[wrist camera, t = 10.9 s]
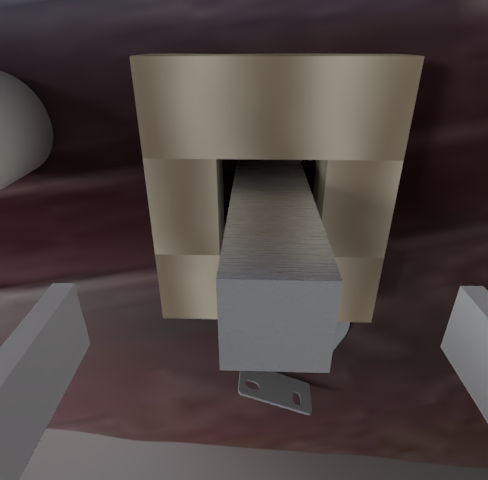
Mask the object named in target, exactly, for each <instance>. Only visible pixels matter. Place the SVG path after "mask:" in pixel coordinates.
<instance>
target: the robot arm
mask: <svg viewBox="0 0 488 480" xmlns="http://www.w3.org/2000/svg"><path fill="white" fill-rule="evenodd" d="M89 345H90V341H89V337H88V333H87V329H86V325H85V321H84V318H83V314H82V310H81V306H80V302H79V298H78V294H77V290H76V286H75V283H52V284H51V286H50V287H49V288H48V289H47V291H46V292H45V293H44V294H43V296H42V297H41V298H40V299H39V301H38V302H37V303H36V304H35V305H34V307H33V308H32V309H31V310H30V312H29V313H28V314H27V315H26V317H25V318H24V319H23V320H22V322H21V323H20V324H19V325H18V327H17V328H16V329H15V330H14V331H13V333H12V334H11V335H10V336H9V338H8V339H7V340H6V341H5V343H4V344H3V345H2V346H1V348H0V480H19V479H20V477H21V475H22V473H23V471H24V469H25V468H26V466H27V464H28V462H29V460H30V458H31V456H32V454H33V452H34V450H35V448H36V447H37V445H38V443H39V441H40V439H41V437H42V435H43V433H44V431H45V429H46V428H47V426H48V424H49V422H50V420H51V418H52V416H53V414H54V412H55V410H56V408H57V407H58V405H59V403H60V401H61V399H62V397H63V395H64V393H65V391H66V389H67V387H68V386H69V384H70V382H71V380H72V378H73V376H74V374H75V372H76V370H77V368H78V366H79V365H80V363H81V361H82V359H83V357H84V355H85V353H86V351H87V349H88V347H89ZM441 349H442V350H443V352H444V354H445V355H446V357H447V358H448V360H449V362H450V363H451V365H452V366H453V368H454V370H455V371H456V373H457V374H458V376H459V378H460V379H461V381H462V382H463V384H464V386H465V387H466V389H467V391H468V392H469V394H470V395H471V397H472V399H473V400H474V402H475V403H476V405H477V407H478V408H479V410H480V411H481V413H482V415H483V416H484V418H485V419H486V421H487V423H488V291H487V290H486V289H485V288H484V286H460V288H459V291H458V294H457V298H456V301H455V304H454V307H453V310H452V313H451V316H450V319H449V322H448V325H447V328H446V331H445V334H444V337H443V340H442V343H441Z"/></svg>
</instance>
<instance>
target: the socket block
mask: <svg viewBox="0 0 488 480" xmlns="http://www.w3.org/2000/svg"><path fill="white" fill-rule="evenodd" d="M129 57H130V65H131V72H132V80H133V88H134V96H135V103H136V111H137V119H138V127H139V134H140V142H141V150H142V158H143V165H144V173H145V181H146V189H147V197H148V204H149V212H150V220H151V228H152V235H153V243H154V251H155V259H156V266H157V274H158V282H159V290H160V297H161V305H162V313H163V318H182V319H218V315H217V292H216V276H217V270H218V265H219V259H220V254H221V248H222V242H223V237H224V231H225V219H224V183H223V159H261V160H316V165H315V176H314V187H313V198H314V201H315V204H316V206H317V209H318V212H319V215H320V218H321V221H322V224H323V226H324V229H325V232H326V235H327V238H328V241H329V243H330V246H331V249H332V252H333V255H334V258H335V260H336V263H337V266H338V269H339V272H340V275H341V278H342V280H343V284H342V291H341V298H340V305H339V311H338V318H337V322H369V323H371V321H372V316H373V311H374V306H375V301H376V296H377V291H378V286H379V281H380V276H381V271H382V266H383V261H384V256H385V251H386V246H387V241H388V236H389V231H390V226H391V221H392V216H393V211H394V206H395V201H396V196H397V191H398V186H399V181H400V176H401V171H402V166H403V161H404V156H405V151H406V146H407V141H408V136H409V131H410V126H411V121H412V116H413V111H414V107H415V102H416V97H417V92H418V87H419V82H420V77H421V72H422V67H423V62H424V57H425V56H419V55H407V54H143V55H134V56H129Z"/></svg>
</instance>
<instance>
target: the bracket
mask: <svg viewBox="0 0 488 480" xmlns="http://www.w3.org/2000/svg"><path fill="white" fill-rule="evenodd" d="M349 325H350V322H337V325H336V332H335V339H334V346H333V350H334V349H335V348H336V347H337V345H338V344H339V343H340V342H341V340H342V339H343V338H344V336H345V335H346V333H347V331H348V329H349ZM246 381H250V382H253V383H256V384H257V385H258V387H259V389H258V390H255V389H252V388H249V387H247V386H246V384H245V382H246ZM238 393H239V394H240V395H242V396H245V397H249V398H252V399H255V400H259V401H262V402H265V403H269V404H272V405H275V406H279V407H282V408H286V409H289V410H292V411H296V412H299V413H302V414H306V415H310V414H311V413H312V406H311V396H310V386H309V383H306V382H303V381H300V380H297V379H294V378H291V377H288V376H285V375H282V374H279V373H275V372H271V371H240V372H239V384H238ZM293 393H297V394H298V395H299V397H300V405H296V404H295V403H294V401H293Z"/></svg>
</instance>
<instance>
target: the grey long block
mask: <svg viewBox="0 0 488 480" xmlns="http://www.w3.org/2000/svg"><path fill="white" fill-rule="evenodd" d="M342 284H343V280H342V278H341V275H340V272H339V269H338V266H337V263H336V260H335V258H334V255H333V252H332V249H331V246H330V243H329V241H328V238H327V235H326V232H325V229H324V226H323V224H322V221H321V218H320V215H319V212H318V209H317V206H316V204H315V201H314V198H313V195H312V192H311V189H310V187H309V184H308V181H307V178H306V175H305V172H304V169H303V167H302V164H301V161H300V160H261V159H237V164H236V170H235V175H234V181H233V187H232V192H231V198H230V203H229V209H228V214H227V220H226V226H225V231H224V237H223V242H222V248H221V254H220V259H219V265H218V270H217V276H216V292H217V315H218V339H219V362H220V370H232V371H271V372H310V373H330V366H331V359H332V353H333V346H334V339H335V332H336V325H337V318H338V311H339V305H340V298H341V291H342Z"/></svg>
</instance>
